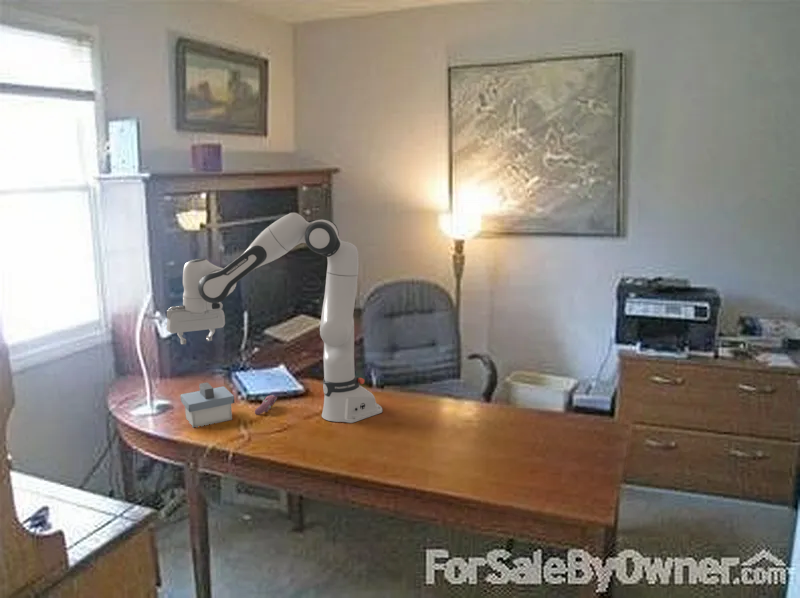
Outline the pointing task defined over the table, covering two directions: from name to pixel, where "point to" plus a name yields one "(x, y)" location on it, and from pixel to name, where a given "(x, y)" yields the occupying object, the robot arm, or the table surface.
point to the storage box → (209, 415)
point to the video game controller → (266, 404)
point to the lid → (206, 398)
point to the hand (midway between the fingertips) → (196, 342)
